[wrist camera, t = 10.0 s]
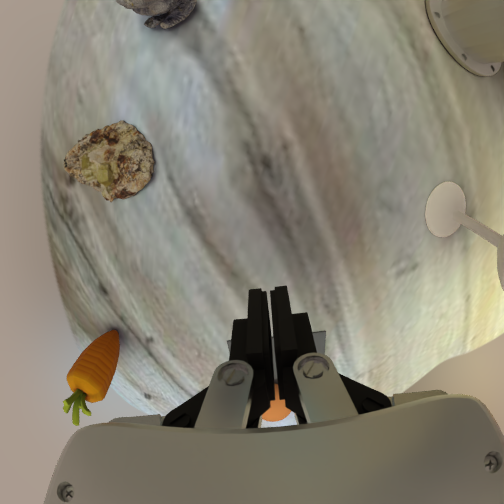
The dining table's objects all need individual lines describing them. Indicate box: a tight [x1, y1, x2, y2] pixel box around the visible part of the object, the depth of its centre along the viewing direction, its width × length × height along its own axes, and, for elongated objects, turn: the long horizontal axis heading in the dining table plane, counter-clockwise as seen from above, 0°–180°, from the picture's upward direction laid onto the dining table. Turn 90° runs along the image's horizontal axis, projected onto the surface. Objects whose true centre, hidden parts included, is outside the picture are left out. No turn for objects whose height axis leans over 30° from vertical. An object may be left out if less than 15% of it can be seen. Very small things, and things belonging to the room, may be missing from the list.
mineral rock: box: [64, 120, 155, 202], centre depth 23 cm, size 11×4×8 cm
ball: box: [262, 384, 291, 422], centre depth 34 cm, size 6×6×6 cm
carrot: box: [63, 330, 120, 426], centre depth 26 cm, size 5×5×15 cm
